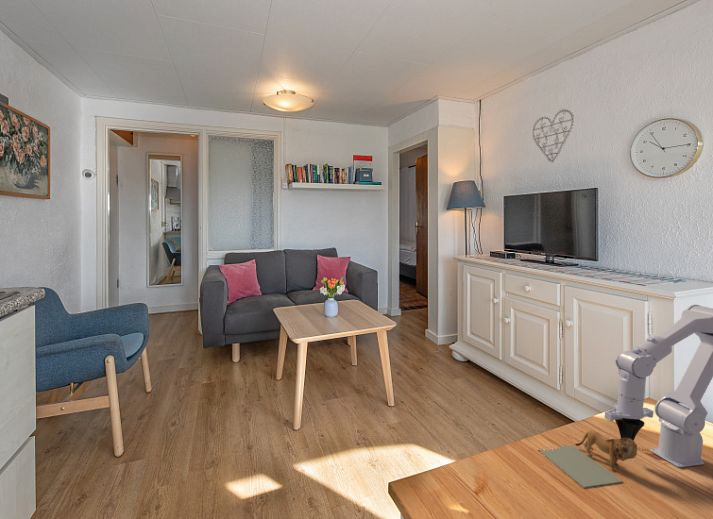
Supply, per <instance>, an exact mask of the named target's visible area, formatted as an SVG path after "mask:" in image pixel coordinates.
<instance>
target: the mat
mask: <svg viewBox="0 0 713 519" xmlns="http://www.w3.org/2000/svg"><path fill="white" fill-rule="evenodd" d="M555 447H556V446H554V449H553V451H552V449H551V450H548V451H547V449H546V450H545V451H543V448H541V449H542V450H541V451H540V452H539V453H541V452H542V453H541V455H543V454H544V455H545V456H546V459H548V460H549V461H550V462H551V461H552V463H553V464H554V465H555V466H557V467H558V469H559V470H561V471H562V472H564V474H566V475H567V476H568V477H569V478H571V479H572V480H573V481H574V482H576V484H578V485H579V486H580V487H581V488H583V489H586V488H594V486H595V487H601V485H602V486H607V485H608V486H609V485H613V484H614V485H615V484H621V483H624V481H623V480H622V479H621V478H619V477H618V476H616V475H615V474H614V473H613V472H611V471H610V470H608V469H607V468H605V467H604V466H603V465H601V464H600V463H598V462H597V461H595V460H594V459H592V457H589V456H587V453H584V452H583V451H582V450H580V449H579V448H577V446H576V445H575V446H574V445H572V444H570V445H562V446H557V447H558V448H557V449H555ZM559 447H560V449H559ZM544 455H543V456H544ZM545 456H544V457H545Z"/></svg>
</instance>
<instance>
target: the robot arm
mask: <svg viewBox="0 0 713 519" xmlns="http://www.w3.org/2000/svg"><path fill="white" fill-rule="evenodd" d="M693 334H695V335H696V336H698V338H699V341H700V343H699V345H698V346H697V348H696V351H695V353H694V354H693V357H692V358H691V360H690V362H689V364H688V366H687V368H686V370H685V372H684V374H683V376H682V377H681V380H680V382H679V384H678V385H677V387H676V389H674V390H671V391H666V392H664V394H663V396H662V397H661V398H660V399H659V400H658V401H657V402H656V404H655V406H654V410H652V409H650V408H648V407H644V404H645V403H644V401H645V394H646V393H645V392H646V381H647V377H649V376H651V375H652V374H653V372H654V369H655V367H657V364H658V363H659V362H660V361H662V360H664V359H665V358H666V357H667V356H669V355H670V354H671V353H672V352H673V346H675V345H677V344H678V343H679V342H682V341H683V340H684V339H686V338H688V337H690V336H693ZM614 363H615V365H616V367H617V369H618V373H617V374H619V382H618V391H617V392H618V393H617V402H616V404H614V405H613V408H612V409H609V410H605V411H604V419H606V420H608V421H609V422H614V421H615V424H616V425H617V428H618V432H619V435H620V436H619V437H620V439H623V438H630V439H632V440H633V441H634V442H635V439H636V437H637V434H638V433H639V431H641V429H642V428H643V427H644V426H645V421H644V420H642V419H644V418H647V417H648V418H649V419H654V413H655V415H656V416H657V417H658V422H659V423H660V429H659V430H660V431H659V439H658V447H656V448H650V449H649V451H650V452H651V453H653V454H655V455H657V456H658V457H660V458H661V459H663V460H665V461H667V463H670V464H671V465H674V466H675V467H677V468H684V467H692V466H694V467H695V466H700V465H701V466H702V465H704V464H705V461H703V460H702V456H703V455H702V453H703V443H704V440H703V436H702V434H701V432H702V431H703V430H704V429H705V426H706V418H707V415H708V411H707V409H706V407H704V405H703V403H702V402H701V400H702V398H704V397H703V396H705V393H706V391H707V390H708V388H709V386H710V384H711V382H712V380H713V307H707V306H702V305H700V304H691V305H690V306H688V307H687V308H686V309H684V310H683V311H682V312H681V318H679V320H677V321H676V322H675V323H673V325H672V326H670V327H669V328H668V329H666V330H665V331H664V332H663V333H662V334H661V335H659V336H657V335H652V336H647V338H646V340H644V341H642V343H640V344H638V345H637V346H636V347H634V348H632V349H631V350H624V351H622V352H620V353H619V354H618V356H617V358H616V359H615V362H614ZM684 405H685V406H684ZM686 406H687V407H686Z"/></svg>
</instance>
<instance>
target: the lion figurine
mask: <svg viewBox="0 0 713 519" xmlns="http://www.w3.org/2000/svg"><path fill="white" fill-rule="evenodd" d="M574 445H575V447H578V446H579V447H580V446H581V445H584V449H585V450H586V455H587V456H588V457H590V458H592V457H593V454H592V453H591V448H592V447H593V445H596V446H597V448H598V449H599V450H600V451H601V452H603V453H605V454H606V455H608V456H609V468H610V470H612V471H614V472H615V471H616V470H617V468H620V465H619V464H618V463H617V462H618V460H619V461H621V462H624V461H626V460H630V459H634V458H635V457H636V456H637V455H638V444H636V442H635V440H634V441H633V440H632V439H630V438H623V439H621V438H611V439H607V438H605V437H604V436H603V435H602V434H600V433H599V432H598V431H595V430H591V429H590V430H588V431H587V432H586V433H585V434H584V436H583V438H582V440H581V441H580V442H579V443H578V442H577V443H575V444H574Z"/></svg>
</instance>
